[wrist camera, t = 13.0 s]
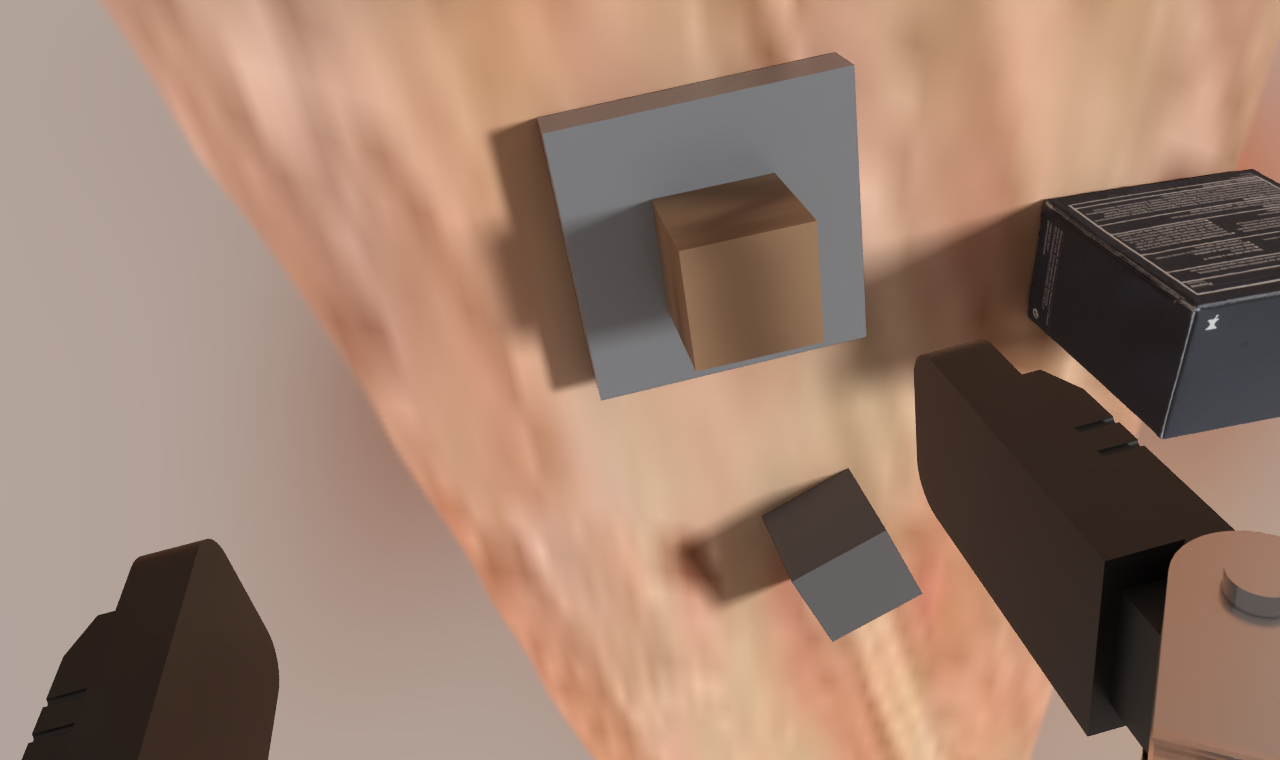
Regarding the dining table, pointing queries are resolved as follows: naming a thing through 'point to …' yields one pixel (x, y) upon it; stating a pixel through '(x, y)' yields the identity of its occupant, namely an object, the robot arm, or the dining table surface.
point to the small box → (1169, 296)
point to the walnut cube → (740, 270)
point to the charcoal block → (840, 555)
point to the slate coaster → (689, 160)
